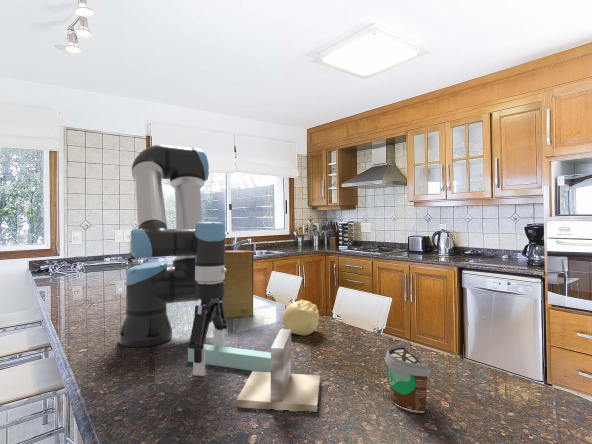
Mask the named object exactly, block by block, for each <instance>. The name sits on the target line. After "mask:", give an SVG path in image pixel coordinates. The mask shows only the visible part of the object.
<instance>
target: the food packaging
mask: <svg viewBox="0 0 592 444" xmlns="http://www.w3.org/2000/svg"><path fill="white" fill-rule="evenodd" d="M225 269H226V270H227V271H226V272H225V279H224V280H222V281H223V282H224V283H225V295H224V296H223V304H224V310H225V315H226V319H232V318H233V317H237V318H244V317H243V316H249V317H253V316H254V251H252V250H249V249H246V250H245V249H244V250H243V249H242V250H240V249H239V250H225ZM233 319H234V318H233Z"/></svg>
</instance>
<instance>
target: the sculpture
mask: <svg viewBox="0 0 592 444" xmlns="http://www.w3.org/2000/svg"><path fill="white" fill-rule="evenodd" d="M319 320H320V312H319V310H318V306H317V305H316V304H313V303H312V302H311V301H309V300H304V299H300V300H298V301H294V302H291V303H290V304H288V305H287V306H286V307H285V309H284V312H283V315H282V322H283V327H284V329H289V330H291V334H294V335H298V336H309V335H311V334H312V333H314V332H315V331H316V329H317V327H318V325H319Z"/></svg>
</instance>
